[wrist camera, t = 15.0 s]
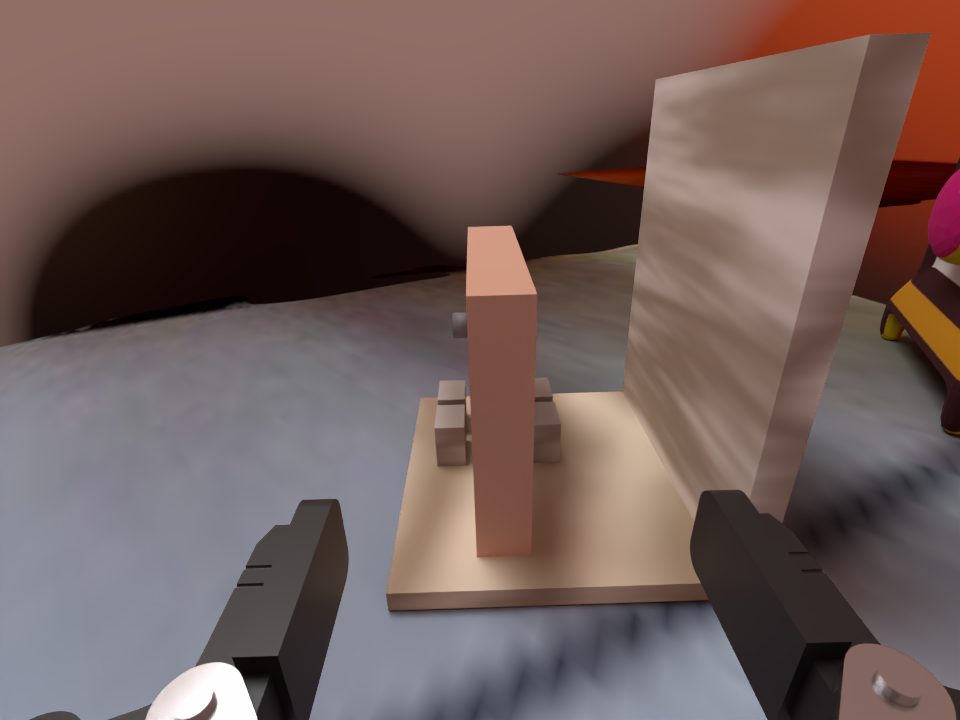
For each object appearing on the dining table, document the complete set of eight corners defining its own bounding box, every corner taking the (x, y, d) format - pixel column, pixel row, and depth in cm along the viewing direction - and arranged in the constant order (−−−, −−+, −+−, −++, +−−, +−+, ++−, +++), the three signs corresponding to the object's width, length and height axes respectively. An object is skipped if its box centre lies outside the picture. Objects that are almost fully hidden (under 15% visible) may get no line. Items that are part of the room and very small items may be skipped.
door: (454, 557, 22) (436, 297, 17) (459, 413, 33) (449, 227, 28) (531, 555, 22) (537, 294, 17) (511, 412, 33) (511, 225, 28)
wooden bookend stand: (388, 610, 21) (302, 51, 12) (421, 410, 36) (393, 87, 27) (759, 598, 21) (930, 33, 12) (642, 403, 36) (684, 78, 27)
